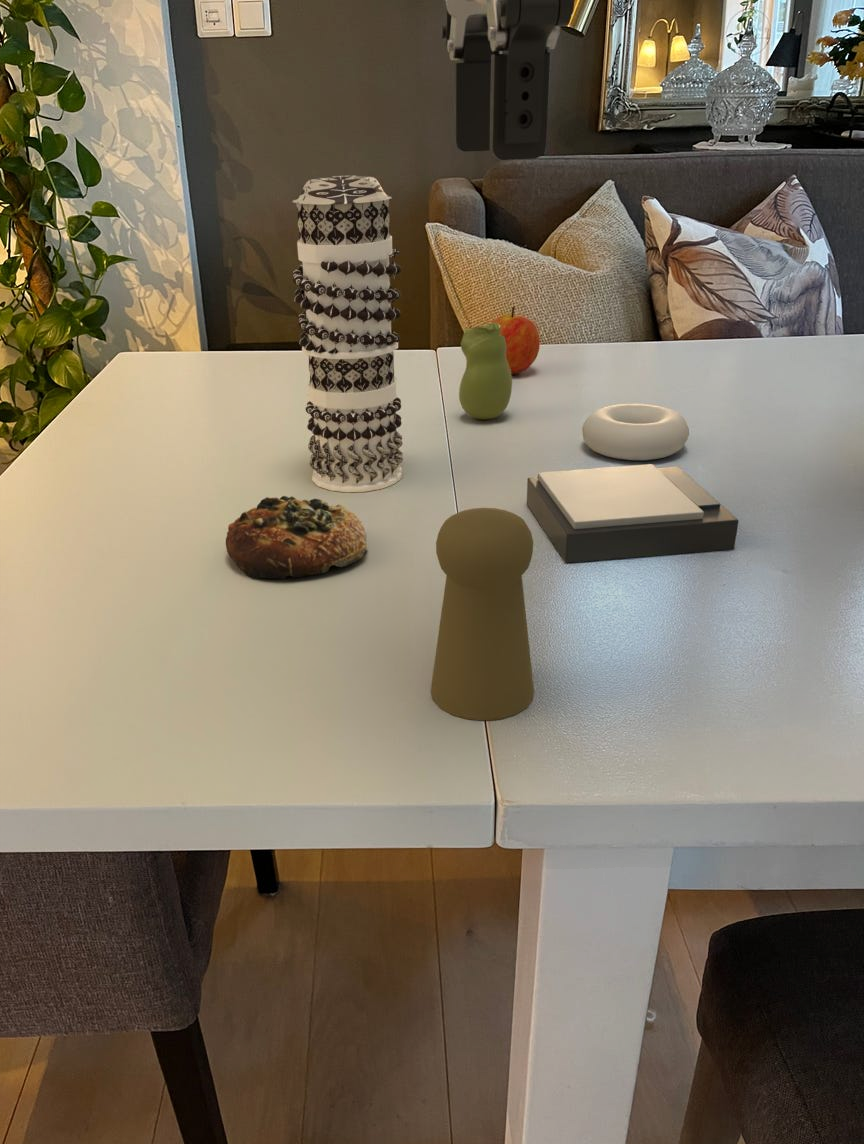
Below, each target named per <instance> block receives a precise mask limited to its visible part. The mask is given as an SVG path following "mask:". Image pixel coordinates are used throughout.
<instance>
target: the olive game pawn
mask: <svg viewBox="0 0 864 1144" xmlns="http://www.w3.org/2000/svg"><path fill="white" fill-rule="evenodd" d="M532 534H533V533H532V531H531V529H530V528H529V526H528V524H527V523H526V521H525V520H524V518H522V517H520V516H519V515H517V514H515V513H514V512H511V511H508V510H506V509H500V508H495V507H475V508H469V509H465V510H462V511H461V510H460V511H459V512H457V513H455V514H452V515H451V516H449V517H448V518H446V519H445V521H444V522H443V523H442V525H441V527H440V529H439V531H438V533H437V538H436V541H435V548H436V549H435V551H436V552H435V553H436V557H437V560H438V564H439V567H440V569H441V571H443V573H444V574H445V582H444V583H445V584H444V590H443V597H442V605H441V612H440V621H439V627H438V634H437V641H436V642H437V643H436V648H435V655H434V664H433V670H432V679H431V685H430V694H431V698H432V701H433V702H434V703H435V704H436V705H437V706H438V707H439V709H441V710H442V711H445V712H446V713H448V714H449V715H452V716H454V717H455V716H456V717H458V718H462V719H465V720H473V721H483V722H484V721H493V720H503V719H506V718H509V717H512V716H516V715H517V714H519V713H521V712H522V711H524V710H526V709H527V708H528V707H529V706H530V704H531V703H532V702H533V701H534V696H535V695H534V694H535V687H534V678H533V667H532V659H531V650H530V640H529V632H528V631H529V630H528V621H527V613H526V612H527V611H526V603H525V594H524V593H525V592H524V582H523V575H524V574H525V573H526V572H527V571H528V570H529V567H530V564H531V561H532V558H533V553H534V539H533V535H532Z"/></svg>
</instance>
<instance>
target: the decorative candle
mask: <svg viewBox="0 0 864 1144" xmlns="http://www.w3.org/2000/svg"><path fill="white" fill-rule="evenodd" d="M390 199H393V196H392V195H389V194H387V193H386V192H385V191H384V189H383V188H382V186H381V184H380V182H379V181H378V180H377V178H375V177H374V176H372V175H371V176H370V175H332V176H322V177H314V178H311V179H309V180H308V181H306V182H305V184H304V186H303V187H302V190H301V192H300V195H299V197H298V198H297V199H294V200H292V201H291V203H294V204H296V206H295V207H296V209H297V227H298V233H299V235H298V240H297V241H296V245H297V246H296V247H297V258H298V261H300V262H301V264H300V265H298V266H297V268H296V269H295V270H294V271H293V272H292V282H293V284H295V285H296V286H298V288H296V289H295V291H294V296H293V302H295V303H296V304H298V305H299V306H300V308H301V309H303V311H302V312H301V313H300V314H299V315H298V317H297V325H298V327H299V329H301V330H303V331H302V332H301V333H300V334H299V341H298V345H300V346H301V352H302V353H304V354H305V355H307V356H308V373H309V380H308V384H307V387H308V388H307V390H308V391H307V392H308V401H307V402H306V406H305V412H306V414H308V415H310V418H309V419H308V422H307V423H308V424H307V425H306V428H307V430H309V431H311V433H312V435H311V436H310V438H309V440H308V441H309V442H308V445H307V448H308V450H309V452H311V454H310V460H309V466H310V468H311V469H313V471H312V476H311V479H312V482H313V483H314V484H315V485H316V486H317V487H320V488H322V489H324V490H328V491H332V492H341V493H365V492H371V491H372V492H373V491H377V490H383V489H386V488H387V487H391V486H394V485H396V484H397V483H398V482H399V481H400V480H401V479H402V478H403V468H402V466H400V464H402V463H403V461H404V458H403V454H404V453H403V451H402V450H400V448H401V447H402V445H403V443H404V442H403V435H402V434H401V433H399V431H398V430H397V429H398V428H400V427H401V426H402V417H401V415H400V414H397V412H398V411H400V410H401V409H402V399H401V398H400V397H398V395H397V377H396V376H395V359H394V358H395V356H394V352H395V351H396V350H397V349H399V341H400V340H401V337H400V335H399V334H398V333H397V332H395V330H394V329H393V328H392V320H393V322H396V321H397V320H398V319H399V318H401V316H402V313H401V310H400V309H399V308H397V307H395V306H394V303H395V302H396V301H397V300H399V299H400V298H401V297H402V296H401V294H402V293H401V291H400V290H398V289H397V288H395V287H394V286H393V285H391V281H390V277H391V276H393V279H395V277H396V276H398V275H399V274H400V273H402V267H401V266H400V264H398V263H397V262H395V260H394V258H395V257H396V256H398V255H399V254H400V253H401V250H398V249H397V248H394V249H393V236H392V235H391V229H390V228H391V227H390V226H391V225H390ZM391 258H392V260H393V261H392V262H391V261H390V259H391ZM391 303H392V305H391Z"/></svg>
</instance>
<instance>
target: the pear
mask: <svg viewBox="0 0 864 1144" xmlns="http://www.w3.org/2000/svg"><path fill="white" fill-rule="evenodd" d="M460 349H461V352H462V353H463V355H464V357H465V360H466V363H465V364H466V366H465V371H464V373H463V375H462V378H461V379H460V384H459V389H458V390H459V391H458V397H459V399H458V400H459V403H460V405H461V407H462V409H463V411H464V412H465V413H466V414H467V415H468V416H470V417H471V418H473V419H476V420H484V421H485V420H492V419H494V418H495V419H496V418H497V417H498V416H500V415H501V414H502V413H503V412H504V411H506V409H507V407H508V405H509V403H510V401H511V396H512V389H513V375H511V370H510V367H509V365H508V362H507V359H506V341H505V338H504V336H501V332H500V325H499V324H498V323H491V322H490V323H488V324H484V325H480V326H478V325H477V326H473V327H470V328H469V327H468V328H466V329H465V331H464V332H463V335H462V339H461V342H460Z"/></svg>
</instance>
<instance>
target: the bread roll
mask: <svg viewBox="0 0 864 1144" xmlns="http://www.w3.org/2000/svg"><path fill="white" fill-rule="evenodd" d="M367 545H368V544H367V533H366V529H365V527H364V525H363V523H362V520H360V519H359V517H358V516H357V514H356V513H355V512H352V511H350V510H349V509H346V508H345V506H344V505H341V504H337V505H336V506H335V505H329V504H328V502H327V501H325V500H322V499H320V498H313V499H310V500H308V499H303V500H300V499H297V498H295V496H293V495H292V496H291V495H290V496H287V495H281V497H280V498H278V497H268V496H266V497H265V498H262V499H261V500H260V502H259V503H258V504H257V505H256V507H252V508H251V509H249V510H247V511H243V512H242V513H241V514H240V516H239V517H238V518H237V519H235V521H233V522H231V523H230V524H228V527H227V532H226V538H225V549H226V552H227V554H228V556H229V557H230V558H231V559H232V560H233V561H234V563H235V565H236V566H237V567H238V568H239V569H240V571H242V572H243V573H244V574H245V575H246V576H247V577H250V578H258V579H263V578H266V579H270V578H271V579H281V580H282V579H286V578H288V576H289V577H290V576H291V577H292V578H305V577H308V576H314V575H319V574H325V573H327V572H328V571H329V570H330V567H331V566H335V567H338V568H343V567H344V568H345V567H347V566H349V565H351V564H353V563H355V562H357V561H358V560H360V559H361V558H364V554H365V553H366V551H367V550H368V548H369V547H368V546H367Z"/></svg>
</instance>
